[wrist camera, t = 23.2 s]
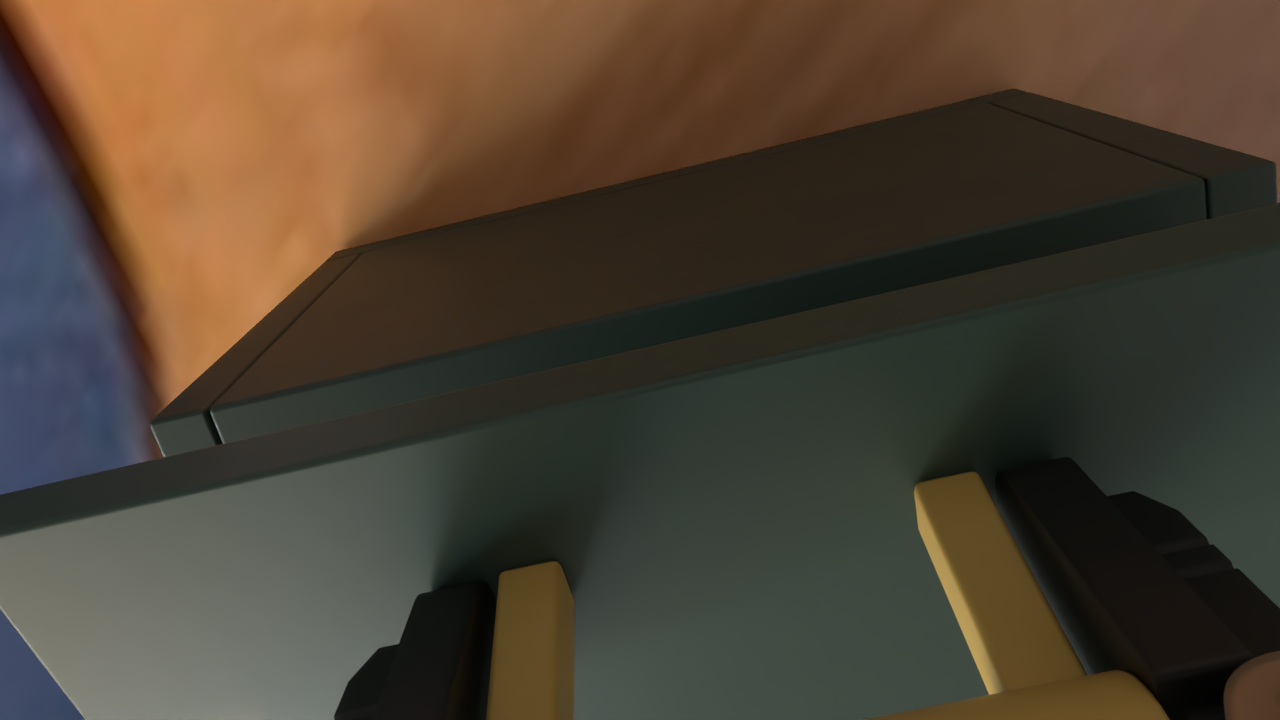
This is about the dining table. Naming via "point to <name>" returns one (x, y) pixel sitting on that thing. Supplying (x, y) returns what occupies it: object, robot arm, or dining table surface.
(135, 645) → the lid
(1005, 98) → the open lidded box
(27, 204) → the dining table surface
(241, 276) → the dining table surface
